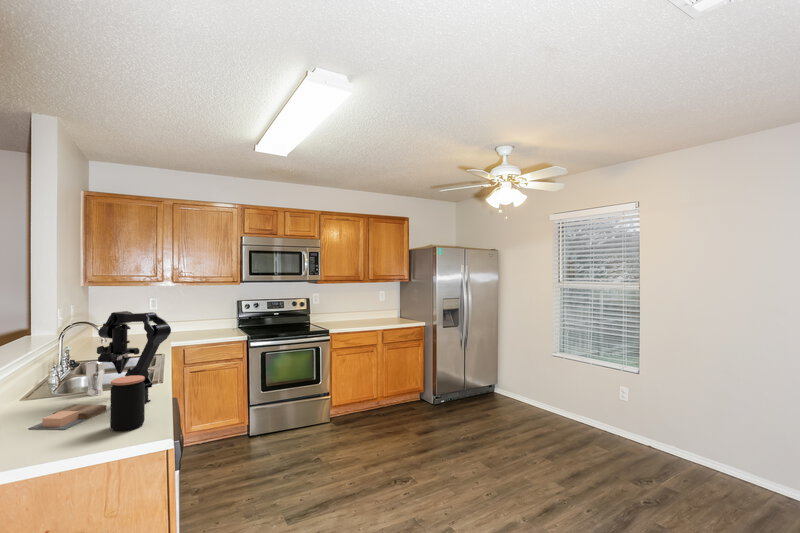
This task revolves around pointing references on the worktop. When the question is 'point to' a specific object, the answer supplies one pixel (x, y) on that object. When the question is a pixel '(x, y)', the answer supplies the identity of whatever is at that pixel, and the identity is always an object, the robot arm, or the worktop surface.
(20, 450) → the worktop surface
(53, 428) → the charcoal mat
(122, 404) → the coffee jar
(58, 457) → the worktop surface
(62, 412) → the terracotta tile
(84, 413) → the walnut ledge
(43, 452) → the worktop surface
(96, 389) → the beer glass
